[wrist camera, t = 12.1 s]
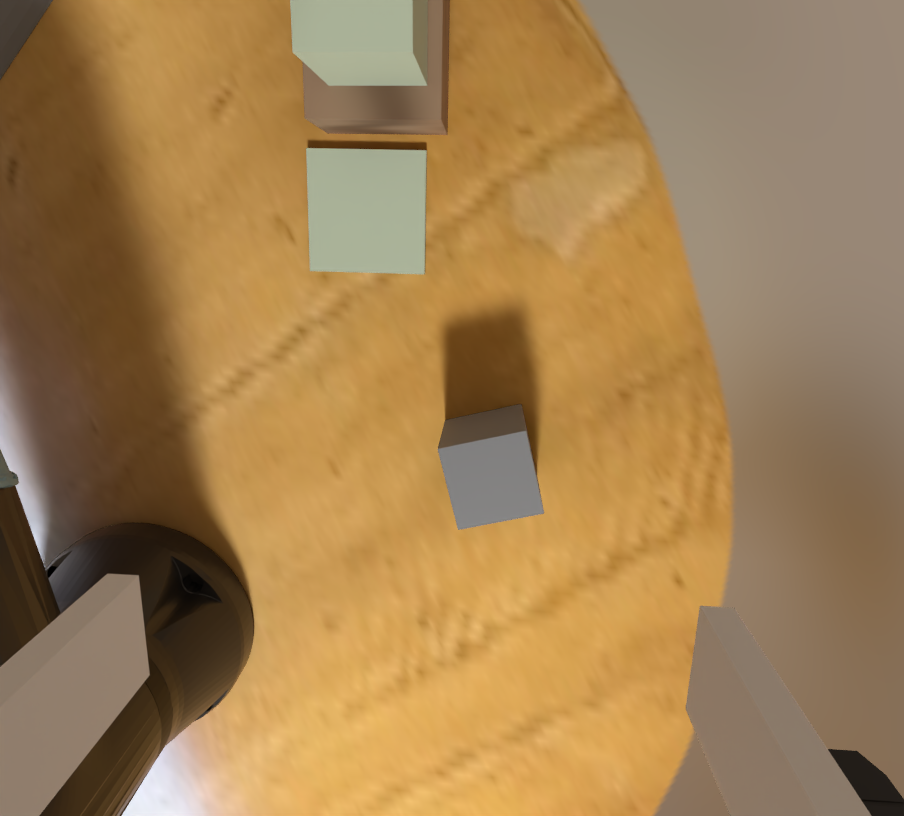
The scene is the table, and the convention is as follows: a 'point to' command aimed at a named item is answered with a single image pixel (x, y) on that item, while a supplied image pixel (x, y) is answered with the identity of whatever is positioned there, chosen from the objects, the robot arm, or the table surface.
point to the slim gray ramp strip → (17, 26)
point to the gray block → (489, 467)
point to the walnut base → (388, 94)
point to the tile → (367, 210)
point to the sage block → (362, 41)
